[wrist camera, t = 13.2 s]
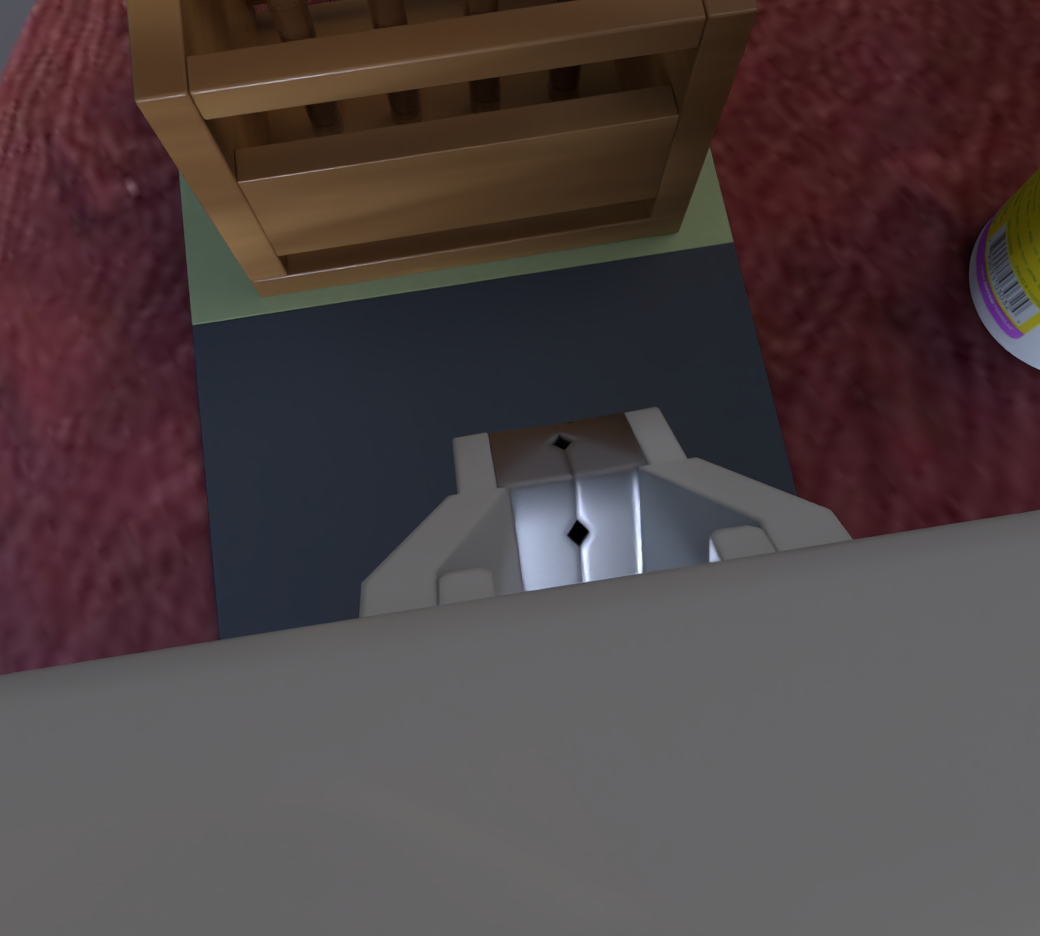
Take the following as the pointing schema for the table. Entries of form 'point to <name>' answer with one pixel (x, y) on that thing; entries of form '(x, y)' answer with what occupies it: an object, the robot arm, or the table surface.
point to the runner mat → (447, 392)
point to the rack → (433, 124)
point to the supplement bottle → (1011, 273)
